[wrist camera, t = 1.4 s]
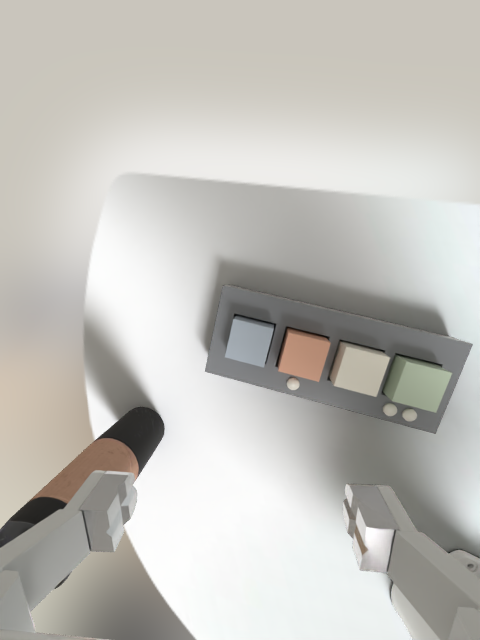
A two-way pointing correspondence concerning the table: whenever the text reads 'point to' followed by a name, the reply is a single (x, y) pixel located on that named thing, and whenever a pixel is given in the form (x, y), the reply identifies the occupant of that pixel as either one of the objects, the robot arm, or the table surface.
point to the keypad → (332, 353)
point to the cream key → (358, 368)
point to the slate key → (249, 340)
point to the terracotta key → (303, 354)
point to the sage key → (416, 382)
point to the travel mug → (92, 468)
